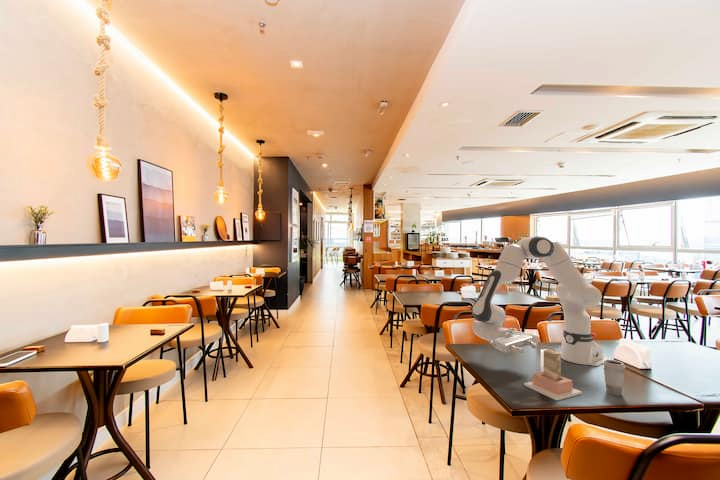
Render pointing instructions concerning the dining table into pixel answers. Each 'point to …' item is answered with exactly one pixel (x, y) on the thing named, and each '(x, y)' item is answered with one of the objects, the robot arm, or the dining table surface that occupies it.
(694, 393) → the dining table surface
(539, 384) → the pink slotted holder
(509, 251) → the robot arm
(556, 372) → the slat
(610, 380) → the cup
